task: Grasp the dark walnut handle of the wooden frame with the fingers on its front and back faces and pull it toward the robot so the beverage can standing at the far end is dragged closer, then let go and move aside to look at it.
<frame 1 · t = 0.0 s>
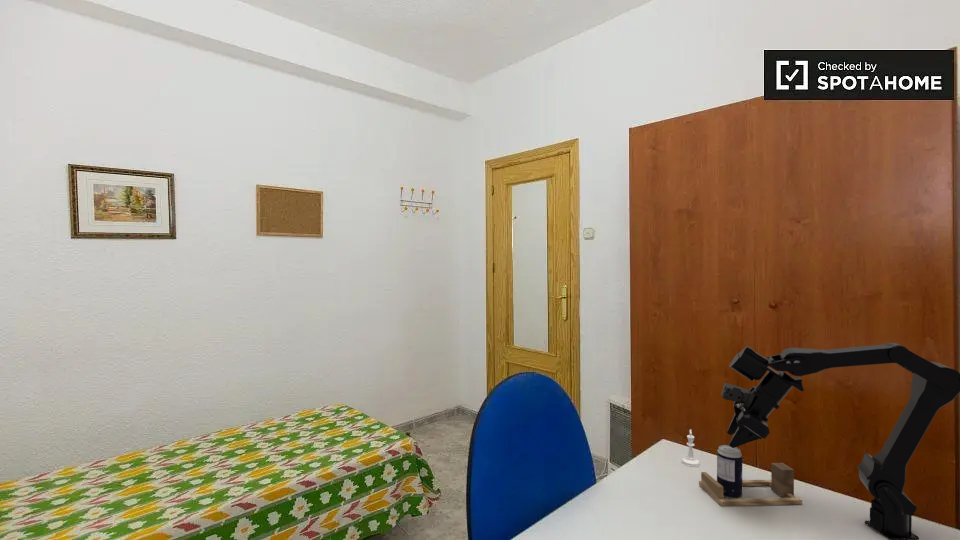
hand: (729, 439, 111), 15 cm above the table, tool tilted 35°, fingers open, 9 cm apart
chess piece: (690, 463, 132), on the table
wooden frame: (749, 480, 113), point 4 cm above the table, slide at 0.0 cm
beverage can: (729, 495, 113), resting in wooden frame
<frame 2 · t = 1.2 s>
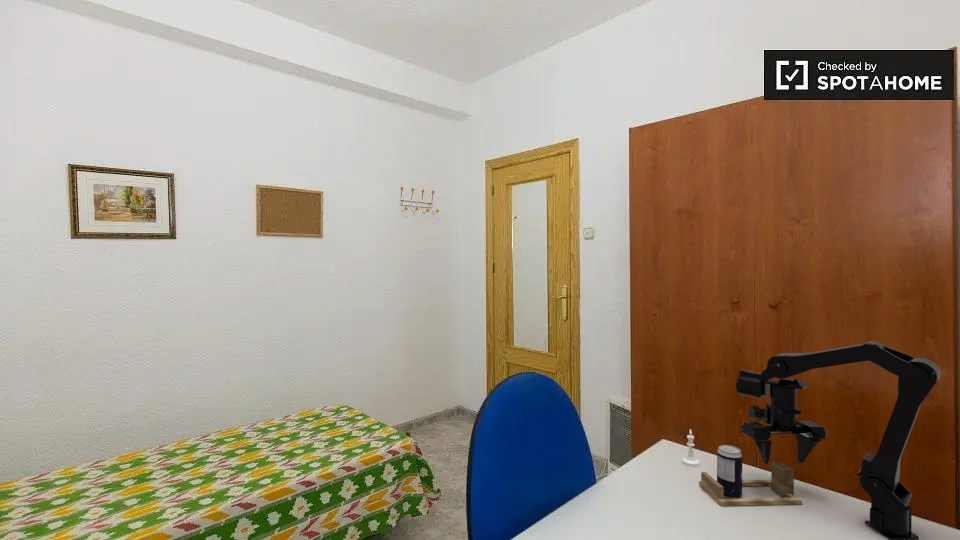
hand: (783, 463, 113), 8 cm above the table, tool pointing down, fingers open, 9 cm apart
nothing on the table moved.
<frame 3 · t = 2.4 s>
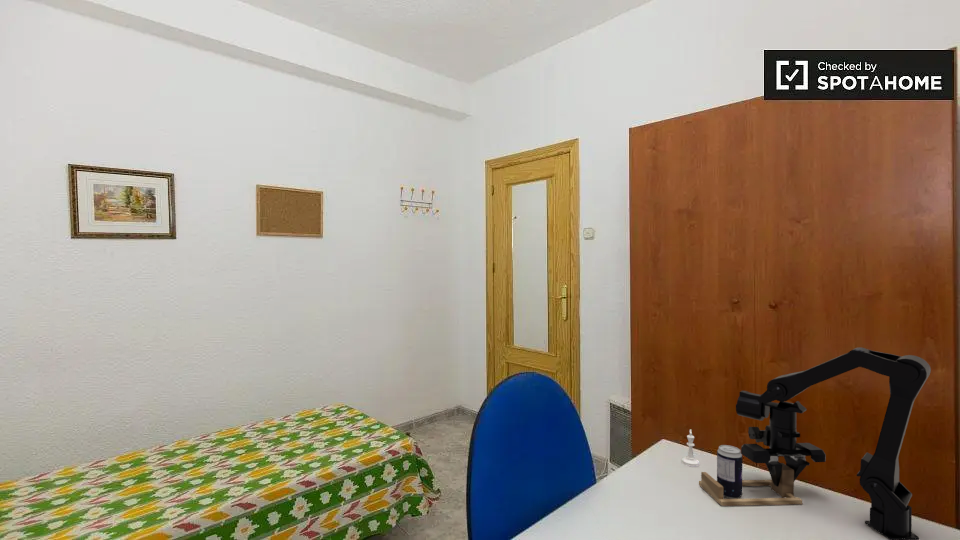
hand: (782, 485, 114), 2 cm above the table, tool pointing down, fingers closed on wooden frame, 3 cm apart
wooden frame: (749, 480, 113), point 4 cm above the table, slide at 0.0 cm, touching gripper
everything else where it was.
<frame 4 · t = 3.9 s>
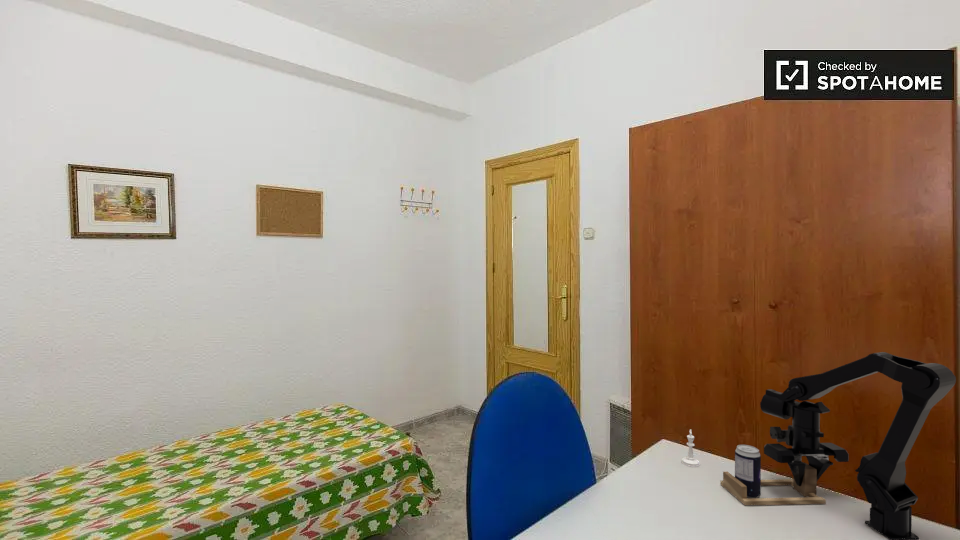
hand: (805, 485, 114), 2 cm above the table, tool pointing down, fingers closed on wooden frame, 3 cm apart
wooden frame: (771, 480, 113), point 4 cm above the table, slide at 5.9 cm, touching beverage can, gripper
beverage can: (747, 495, 113), resting in wooden frame
everything else where it was.
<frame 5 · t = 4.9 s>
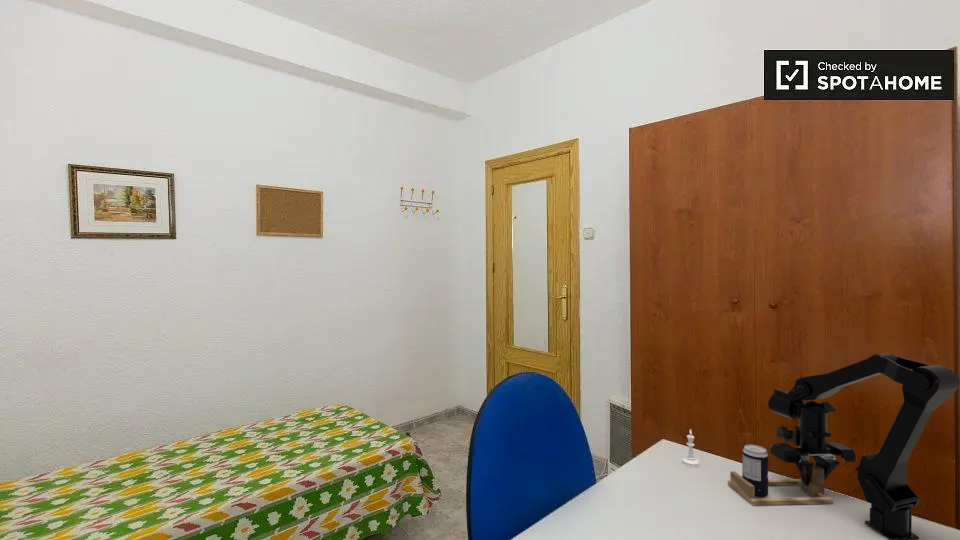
hand: (812, 485, 114), 2 cm above the table, tool pointing down, fingers closed on wooden frame, 3 cm apart
wooden frame: (778, 479, 114), point 4 cm above the table, slide at 7.9 cm, touching beverage can, gripper
beverage can: (755, 495, 113), resting in wooden frame
everything else where it was.
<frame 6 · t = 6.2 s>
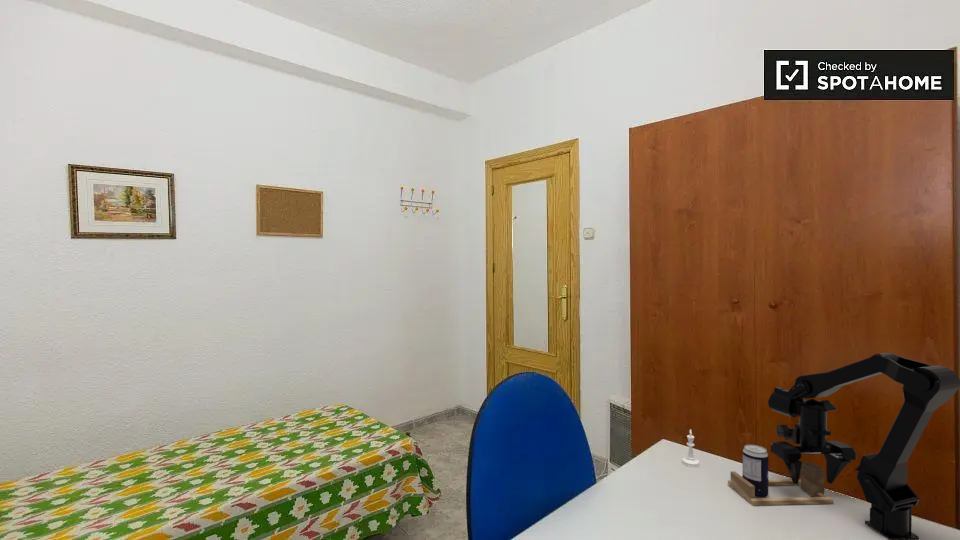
hand: (812, 483, 114), 3 cm above the table, tool pointing down, fingers open, 9 cm apart
wooden frame: (779, 479, 114), point 4 cm above the table, slide at 8.0 cm
beverage can: (755, 495, 113), resting in wooden frame
everything else where it was.
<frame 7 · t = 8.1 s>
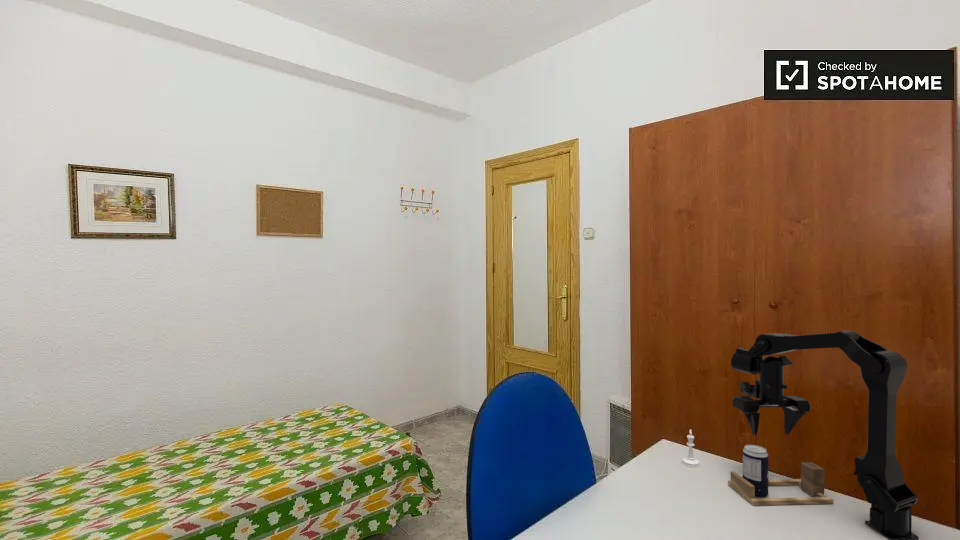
hand: (770, 434, 122), 12 cm above the table, tool pointing down, fingers open, 9 cm apart
nothing on the table moved.
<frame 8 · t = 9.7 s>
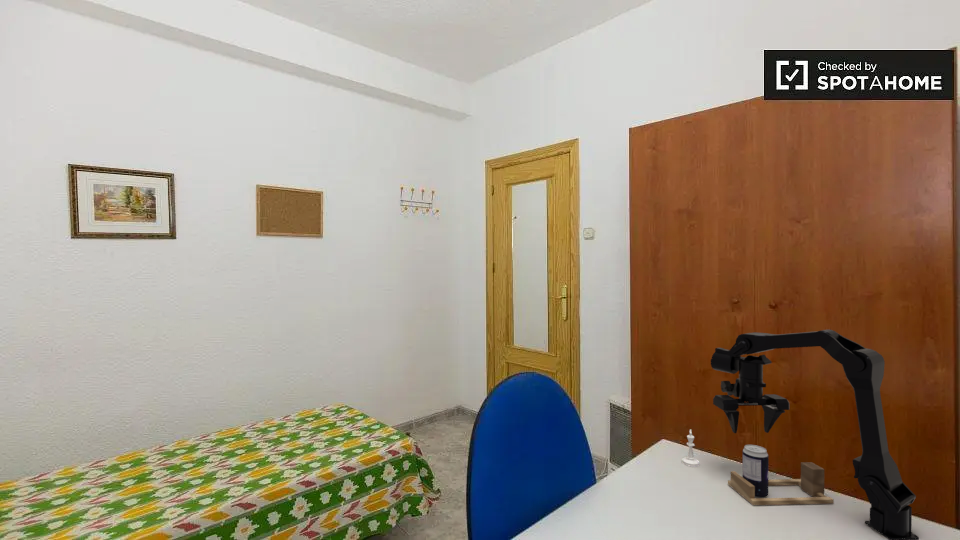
hand: (750, 432, 124), 12 cm above the table, tool pointing down, fingers open, 9 cm apart
nothing on the table moved.
at the end: wooden frame slide at 8.0 cm; beverage can moved 6.8 cm from its start; beverage can tilted 0° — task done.
